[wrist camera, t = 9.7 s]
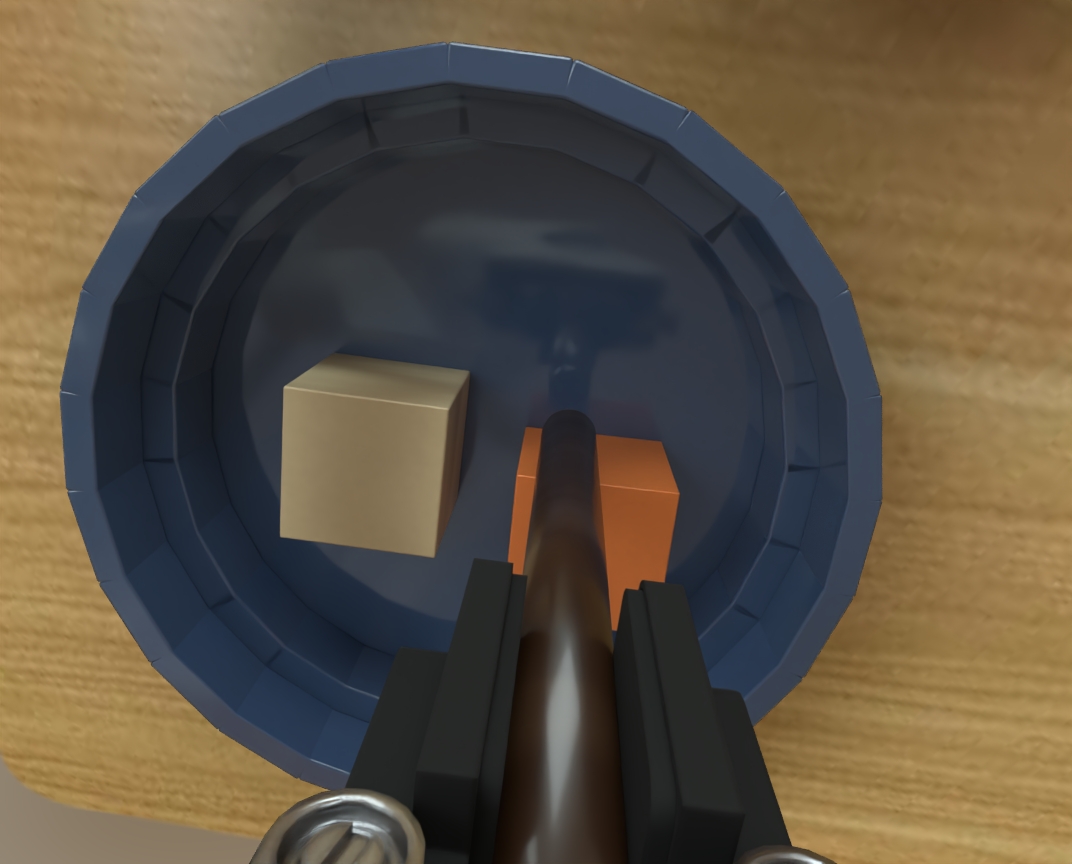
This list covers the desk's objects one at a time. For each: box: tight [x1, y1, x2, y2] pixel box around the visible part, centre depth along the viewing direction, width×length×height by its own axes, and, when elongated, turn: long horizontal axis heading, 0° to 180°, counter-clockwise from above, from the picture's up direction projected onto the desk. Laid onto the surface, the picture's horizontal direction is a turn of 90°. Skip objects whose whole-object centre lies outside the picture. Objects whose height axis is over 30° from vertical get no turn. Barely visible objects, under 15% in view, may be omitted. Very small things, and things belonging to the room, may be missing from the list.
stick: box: [492, 409, 629, 864], centre depth 13 cm, size 1×1×16 cm
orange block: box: [508, 427, 680, 631], centre depth 21 cm, size 4×4×4 cm
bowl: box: [60, 42, 882, 790], centre depth 21 cm, size 20×20×5 cm
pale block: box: [280, 353, 470, 558], centre depth 21 cm, size 4×4×4 cm
